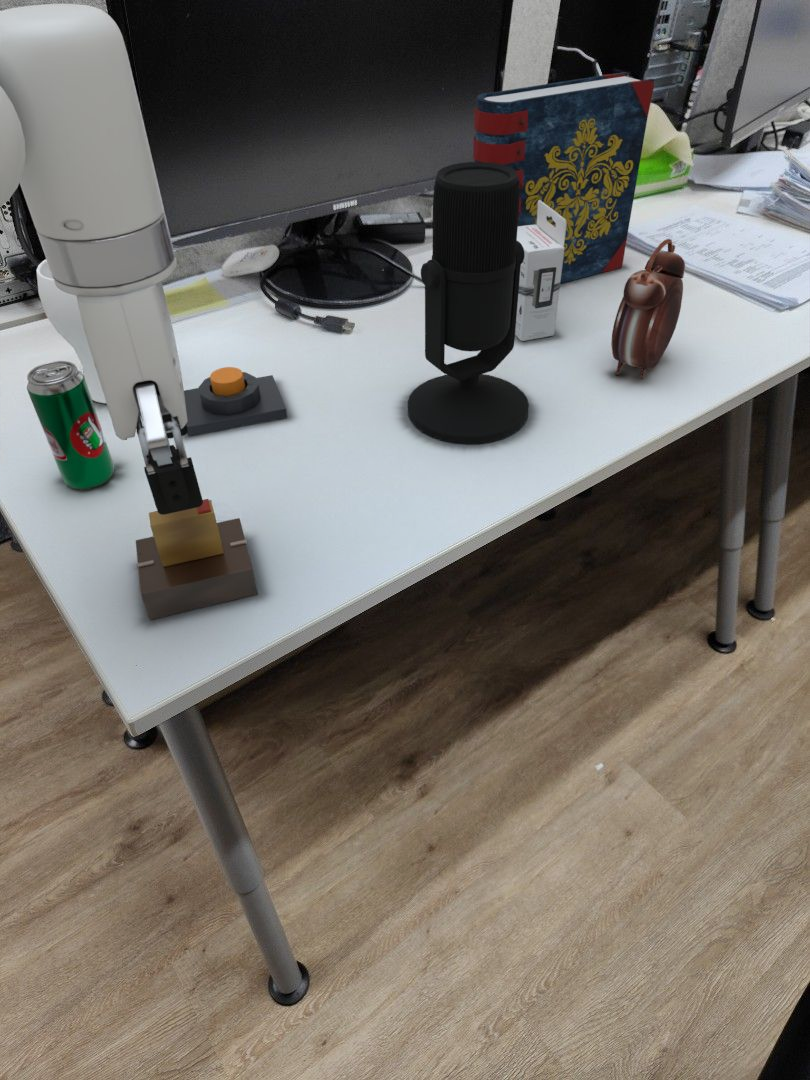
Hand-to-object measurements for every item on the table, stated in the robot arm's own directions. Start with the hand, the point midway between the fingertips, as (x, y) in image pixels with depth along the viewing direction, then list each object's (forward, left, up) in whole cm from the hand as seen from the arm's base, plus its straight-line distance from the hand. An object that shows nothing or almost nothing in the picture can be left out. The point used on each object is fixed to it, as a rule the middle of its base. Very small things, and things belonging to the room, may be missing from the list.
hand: (174, 470), depth 59 cm
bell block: (+7, +27, -12) cm, 30 cm away
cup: (-5, +36, -12) cm, 39 cm away
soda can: (-9, +19, -12) cm, 24 cm away
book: (+56, +47, -12) cm, 74 cm away
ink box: (+47, +34, -12) cm, 59 cm away
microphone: (+32, +17, -12) cm, 38 cm away
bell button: (+7, +27, -9) cm, 29 cm away
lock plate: (0, 0, -12) cm, 12 cm away
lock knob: (0, 0, -8) cm, 8 cm away
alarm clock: (+55, +19, -12) cm, 59 cm away
